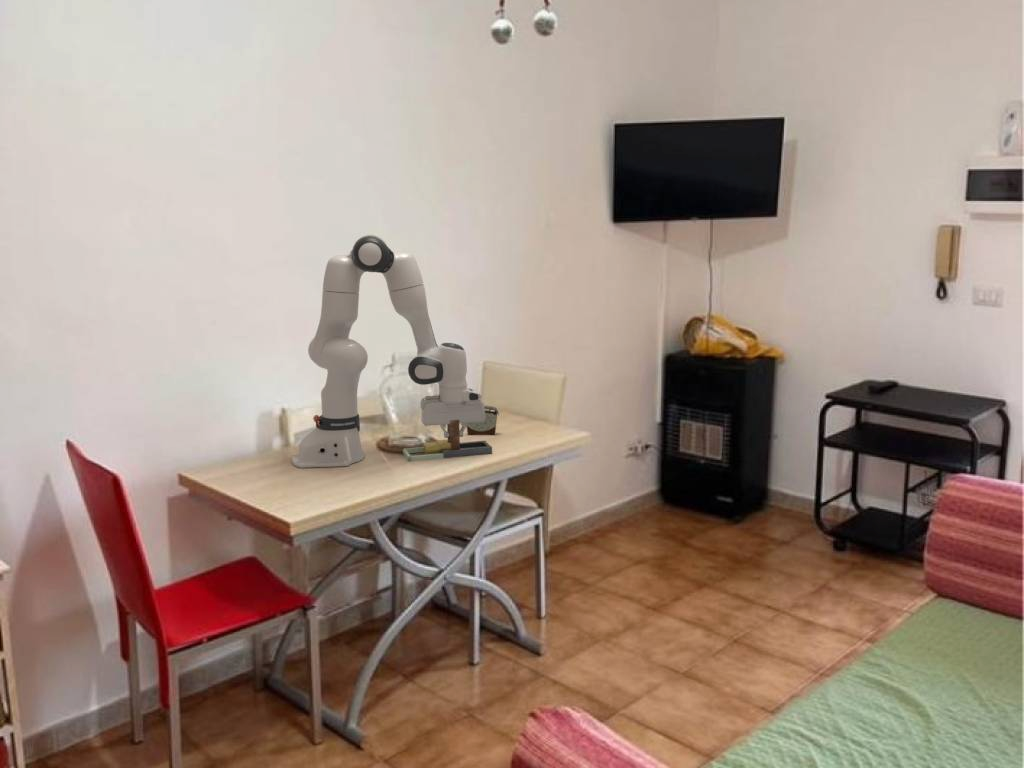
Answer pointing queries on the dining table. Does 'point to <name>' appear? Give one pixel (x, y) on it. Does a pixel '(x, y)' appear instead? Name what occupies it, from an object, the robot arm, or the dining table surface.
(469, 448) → the dark grey tray
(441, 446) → the olive yellow cube
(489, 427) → the food container
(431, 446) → the chip
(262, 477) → the dining table surface
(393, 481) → the dining table surface
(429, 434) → the dining table surface
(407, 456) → the tray
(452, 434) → the brown rectangular block
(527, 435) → the dining table surface
